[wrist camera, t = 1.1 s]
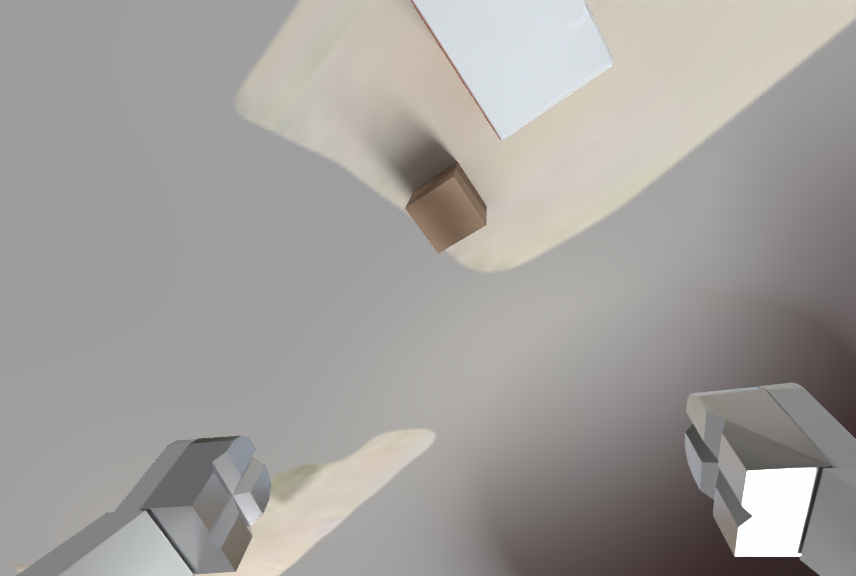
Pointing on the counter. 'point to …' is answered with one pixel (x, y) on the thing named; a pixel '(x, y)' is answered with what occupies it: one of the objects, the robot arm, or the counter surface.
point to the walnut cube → (447, 208)
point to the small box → (517, 53)
